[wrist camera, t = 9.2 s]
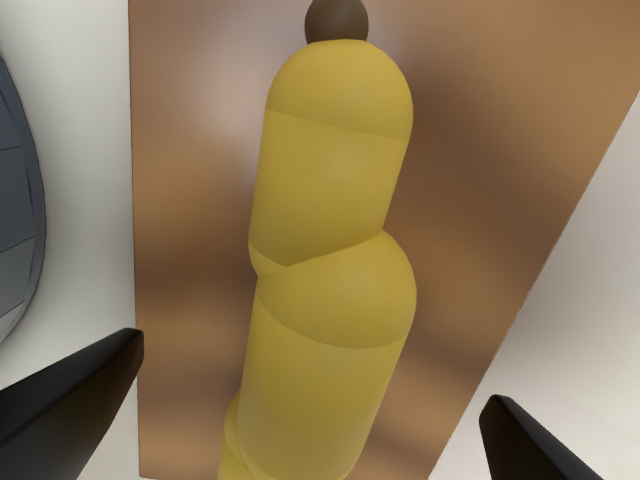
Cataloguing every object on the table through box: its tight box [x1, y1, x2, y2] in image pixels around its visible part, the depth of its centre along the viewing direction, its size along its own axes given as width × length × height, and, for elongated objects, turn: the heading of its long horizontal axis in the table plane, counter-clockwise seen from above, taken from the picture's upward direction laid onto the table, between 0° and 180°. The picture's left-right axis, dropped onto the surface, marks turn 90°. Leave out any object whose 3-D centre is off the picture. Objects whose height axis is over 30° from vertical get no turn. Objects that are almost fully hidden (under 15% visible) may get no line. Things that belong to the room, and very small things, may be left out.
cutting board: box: [128, 0, 640, 480], centre depth 11 cm, size 20×12×1 cm, turn 168°
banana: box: [217, 0, 417, 480], centre depth 9 cm, size 16×4×4 cm, turn 168°
